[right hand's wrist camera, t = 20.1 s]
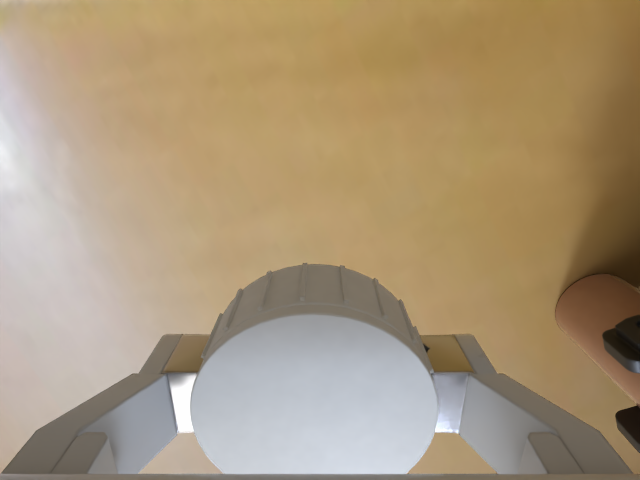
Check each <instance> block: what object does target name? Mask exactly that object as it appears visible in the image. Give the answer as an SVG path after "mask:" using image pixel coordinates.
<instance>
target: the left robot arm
mask: <svg viewBox="0 0 640 480" xmlns="http://www.w3.org/2000/svg"><path fill="white" fill-rule="evenodd" d="M602 338H603V344H604V349H605V350H606V351H607V352H608V353H609V354H610V355H611V356H612V357H613V358H614V359H616V360H617V361H618V362H619V363H620V364H621V365H622V366H623V367H624V368H625V369H627V370H628V371H630V372H633V373H639V374H640V315H635V316H632V317H629V318H626V319H624V320H623V321H621V322H620V323H618V324H617V325H615V328H613V329H609V330H606V331H605V332H603V334H602ZM616 422H617V428H618V429H619V431H620V432H621V433H622V434H623V435H624V436H625V438H626V439H627V440H628V441H629V442H630V443H631V444H632V445H633V447H634V448H635V449H636V450H637V451H638V452H639V453H640V408H639V407H638V406H634V407H631V408H627V409H624V410H620V411H618V412H617V413H616Z"/></svg>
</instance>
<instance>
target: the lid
mask: <svg viewBox="0 0 640 480" xmlns="http://www.w3.org/2000/svg"><path fill="white" fill-rule="evenodd" d="M201 358H203V359H204V360H203V362H202V364H201V367H200V369H199V371H198V374H197V376H196V378H195V381H194V384H193V388H192V391H191V398H190V416H191V423H192V427H193V430H194V433H195V436H196V438H197V440H198V443H199V445H200V446H201V448H202V449H203V451H204V453H205V454H206V456H207V457H208V458H209V459H210V460H211V462H212V463H213V464H214V465H215V466H216V467H217V468H218V469H219V470H220V471H222V472H223V473H224V474H406V473H407V472H408V471H409V470H410V469H411V468H412V467H413V466H414V465H415V464H416V463H417V462H418V461H419V460H420V458H421V457H422V456H423V455H424V453H425V452H426V450H427V448H428V446H429V445H430V443H431V441H432V438H433V436H434V433H435V430H436V426H437V421H438V411H439V404H438V395H437V391H436V387H435V384H434V381H433V378H432V375H431V373H434V371H433V368H432V366H431V363H430V361H429V358H428V356H427V353H426V350H425V348H424V345H423V343H422V340H421V338H420V335H419V333H418V330H417V328H416V326H415V327H413V326H412V323H411V321H410V319H409V317H408V314H407V312H406V309H405V306H404V304H403V302H402V300H399V301H398V300H397V299H396V298H395V297H394V296H393V295H392V293H391V292H389V291H388V290H387V289H386V288H384V287H383V286H382V285H381V284H379V282H378V280H377V279H375V278H374V279H371V278H369V277H367V276H365V275H363V274H361V273H358V272H356V271H353V270H349V269H346V268H345V266H342V265H340V267H337V266H332V265H320V264H309V265H307V263H303V265H298V266H293V267H287V268H284V269H281V270H277V271H274V272H271V271H269V272H267V274H266V275H265V276H263V277H261V278H259V279H257V280H256V281H254V282H253V283H251V284H249V285H248V286H247V287H246V288H245V289H243V290H242V289H239V290H238V292H237V294H236V297H235V298H234V299H233V300H232V301H231V303H230V304H229V306H228V307H227V309H226V310H225V312H224V314H221V313H220V315H219V317H218V319H217V321H216V324H215V326H214V328H213V330H212V333H211V335H210V337H209V339H208V342H207V344H206V346H205V348H204V351H203V353H202V355H201Z"/></svg>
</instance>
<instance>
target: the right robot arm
mask: <svg viewBox="0 0 640 480" xmlns="http://www.w3.org/2000/svg"><path fill="white" fill-rule="evenodd" d="M209 337H210V335H203V334H166V335H164V336H162V338H161V339H160V341H159V342H158V344H157V345H156V347H155V348H154V350H153V352H152V353H151V355H150V356H149V358H148V359H147V361H146V363H145V364H144V366H143V367H142V369H141V370H140V372H139V374H131V375H130V376H128V377H126V378H125V379H123V380H121V381H119V382H118V383H116V384H114V385H113V386H111V387H109V388H108V389H106V390H104V391H103V392H101V393H99V394H97V395H96V396H94V397H92V398H91V399H89V400H87V401H86V402H84V403H82V404H81V405H79V406H77V407H75V408H74V409H72V410H70V411H69V412H67V413H65V414H64V415H62V416H60V417H59V418H57V419H55V420H53V421H52V422H50V423H48V424H47V425H45V426H43V427H42V428H40V429H38V430H37V431H36V432H35V433H34V434H33V435H32V437H31V438H30V439H29V440H28V441H27V443H26V444H25V445H24V446H23V447H22V449H21V450H20V451H19V452H18V453H17V455H16V456H15V457H14V458H13V459H12V461H11V462H10V463H9V464H8V465H7V467H6V468H5V469H4V470H3V471H2V473H1V474H0V480H640V474H634V473H633V472H632V471H631V470H630V469H629V467H628V466H627V465H626V464H625V462H624V461H623V460H622V459H621V457H620V456H619V455H618V454H617V452H616V451H615V450H614V449H613V448H612V446H611V445H610V444H609V443H608V441H607V440H606V439H605V438H604V436H603V435H602V434H601V433H600V431H598V430H596V429H595V428H593V427H591V426H590V425H588V424H586V423H585V422H583V421H581V420H580V419H578V418H576V417H575V416H573V415H571V414H570V413H568V412H566V411H565V410H563V409H561V408H560V407H558V406H556V405H555V404H553V403H551V402H550V401H548V400H546V399H545V398H543V397H541V396H540V395H538V394H536V393H535V392H533V391H531V390H530V389H528V388H526V387H525V386H523V385H521V384H520V383H518V382H516V381H515V380H513V379H511V378H510V377H508V376H506V375H505V374H497V372H496V371H495V369H494V367H493V366H492V364H491V363H490V361H489V359H488V358H487V356H486V355H485V353H484V352H483V350H482V348H481V347H480V345H479V344H478V342H477V340H476V339H475V337H474V336H473V335H471V334H452V335H420V338H421V340H422V343H423V345H424V348H425V350H426V353H427V356H428V358H429V361H430V363H431V366H432V368H433V371H434V373H431V375H432V378H433V381H434V384H435V387H436V391H437V395H438V404H439V411H438V421H437V426H436V430H435V432H445V433H459V435H460V436H461V437H462V438H463V439H464V440H465V441H466V442H467V443H468V444H469V445H470V446H471V447H472V448H473V449H474V450H475V451H476V452H477V453H478V454H479V455H480V456H481V457H482V458H483V459H484V460H485V461H486V462H487V463H488V464H489V465H490V466H491V467H492V468H493V469H494V470H495V471H496V472H497V473H498V474H138V473H139V472H140V471H141V470H142V469H143V468H144V467H145V466H146V465H147V464H148V463H149V462H150V461H151V460H152V459H153V458H154V457H155V456H156V455H157V454H158V453H159V452H160V451H161V450H162V449H163V448H164V447H165V446H166V445H167V444H168V443H169V442H170V441H171V440H172V439H173V438H174V437H175V436H177V433H190V432H194V430H193V427H192V423H191V416H190V398H191V391H192V388H193V384H194V381H195V378H196V376H197V374H198V371H199V369H200V367H201V364H202V362H203V360H204V359H203V358H201V355H202V353H203V351H204V348H205V346H206V344H207V342H208V339H209Z"/></svg>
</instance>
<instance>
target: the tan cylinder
mask: <svg viewBox="0 0 640 480" xmlns="http://www.w3.org/2000/svg"><path fill="white" fill-rule="evenodd" d="M635 315H640V290H639V289H637V288H636V287H634V286H632V285H631V284H629V283H628V282H626V281H624V280H623V279H621V278H619V277H617V276H614V275H610V274H596V275H591V276H588V277H585V278H583V279H580V280H579V281H577V282H575V283H574V284H572V285H571V286H570V287H569V288H568V289H567V290H566V291H565V292H564V293H563V294H562V296H561V297H560V299H559V301H558V303H557V306H556V311H555V317H556V322H557V325H558V326H559V328H560V329H561V330H562V331H563V332H564V333H565V334H566V335H567V336H568V337H569V338H570V339H571V340H572V341H573V342H574V343H575V344H576V345H577V346H578V347H579V348H580V349H581V350H582V351H583V352H584V353H585V354H586V355H587V356H588V357H589V358H590V359H591V360H592V361H593V362H594V363H595V364H596V365H597V366H598V367H599V368H600V369H601V370H602V371H603V372H604V373H605V374H606V375H607V376H608V377H609V378H610V379H611V380H612V381H613V382H614V383H615V384H616V385H617V386H618V387H619V388H620V389H621V390H622V391H623V392H624V393H625V394H626V395H627V396H628V397H629V398H630V399H631V400H632V401H633V402H634V403H635V404H636V405H637V406H638V407H639V408H640V374H639V373H633V372H630V371H628V370H627V369H625V368H624V367H623V366H622V365H621V364H620V363H619V362H618V361H617V360H616V359H614V358H613V357H612V356H611V355H610V354H609V353H608V352H607V351H606V350H605V349H604V344H603V338H602V334H603V332H605V331H606V330H609V329H613V328H615V325H617V324H618V323H620V322H621V321H623V320H624V319H626V318H629V317H632V316H635Z"/></svg>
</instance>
